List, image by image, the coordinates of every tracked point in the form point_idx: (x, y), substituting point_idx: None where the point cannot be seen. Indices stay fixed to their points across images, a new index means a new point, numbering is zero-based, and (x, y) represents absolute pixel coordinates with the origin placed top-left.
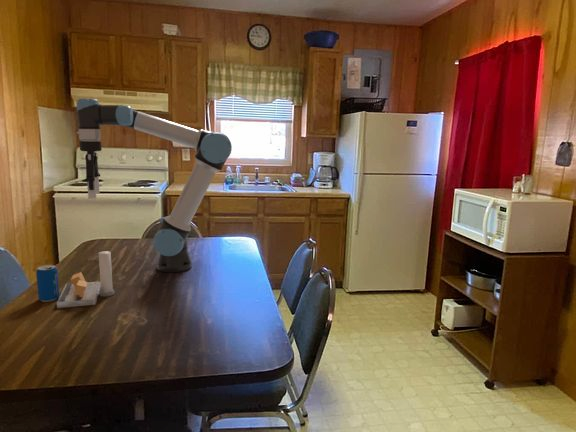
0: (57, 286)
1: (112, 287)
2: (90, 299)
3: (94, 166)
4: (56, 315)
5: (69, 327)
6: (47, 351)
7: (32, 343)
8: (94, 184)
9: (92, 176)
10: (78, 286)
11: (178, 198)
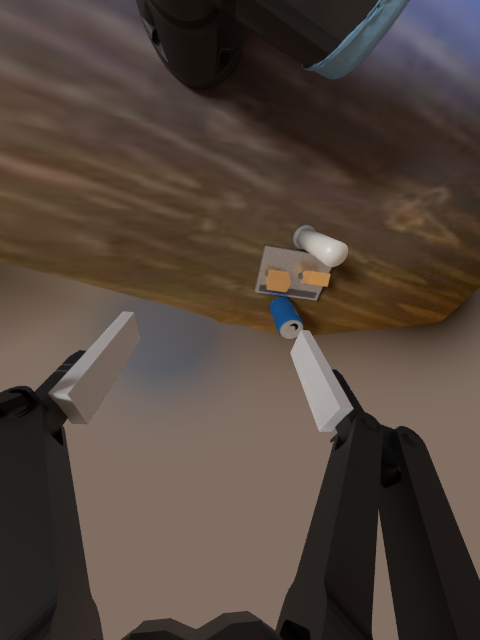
0: (291, 304)
1: (310, 229)
2: None
3: (344, 595)
4: (334, 297)
5: (375, 285)
6: (409, 301)
7: (383, 312)
8: (340, 390)
9: (424, 459)
10: (327, 283)
11: None
